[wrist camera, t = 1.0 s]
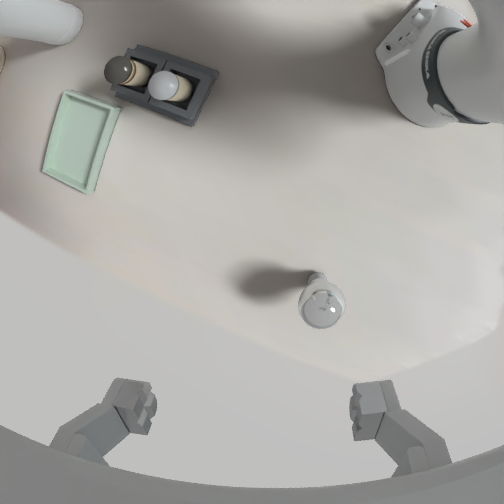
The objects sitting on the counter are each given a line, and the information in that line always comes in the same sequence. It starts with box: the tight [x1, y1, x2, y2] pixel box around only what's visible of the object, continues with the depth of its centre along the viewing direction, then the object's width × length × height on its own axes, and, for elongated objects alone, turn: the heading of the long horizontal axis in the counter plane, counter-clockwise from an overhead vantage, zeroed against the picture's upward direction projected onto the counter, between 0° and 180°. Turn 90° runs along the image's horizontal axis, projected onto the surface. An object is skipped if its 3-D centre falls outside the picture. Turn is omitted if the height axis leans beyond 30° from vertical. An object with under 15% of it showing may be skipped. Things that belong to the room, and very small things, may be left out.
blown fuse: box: [104, 56, 154, 87], centre depth 37 cm, size 4×4×9 cm
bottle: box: [0, 0, 83, 45], centre depth 24 cm, size 8×8×30 cm
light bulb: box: [298, 272, 346, 329], centre depth 47 cm, size 7×7×12 cm
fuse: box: [148, 71, 195, 102], centre depth 37 cm, size 4×4×9 cm
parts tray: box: [42, 90, 121, 194], centre depth 45 cm, size 15×11×2 cm
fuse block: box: [111, 45, 219, 126], centre depth 40 cm, size 9×14×4 cm, turn 64°
